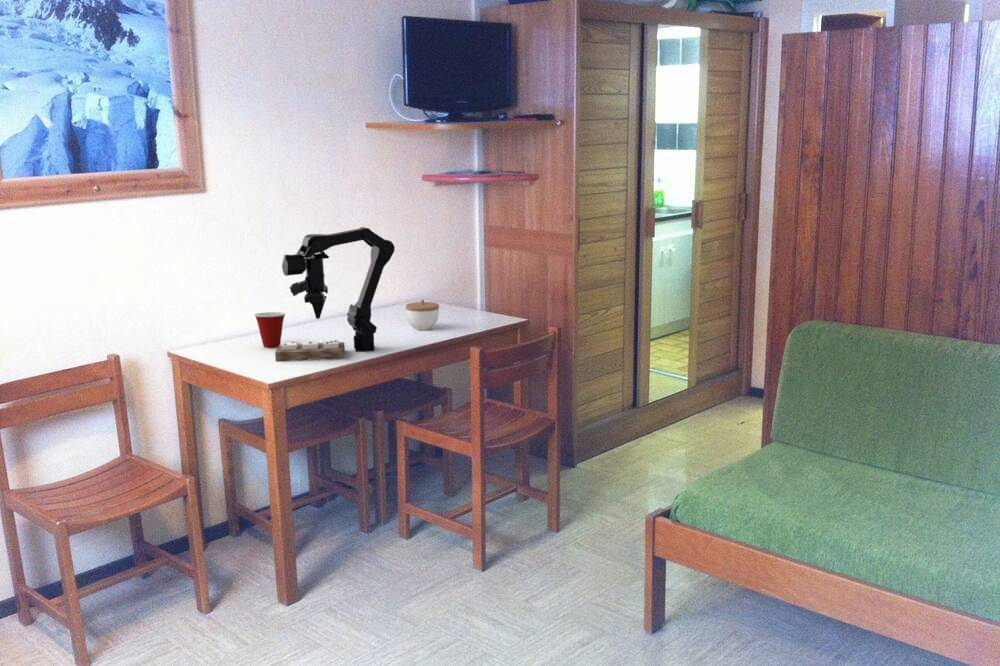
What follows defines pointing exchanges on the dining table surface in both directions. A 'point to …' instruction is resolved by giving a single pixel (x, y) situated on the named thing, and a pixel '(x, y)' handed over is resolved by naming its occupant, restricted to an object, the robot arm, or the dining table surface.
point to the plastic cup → (270, 328)
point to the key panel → (310, 353)
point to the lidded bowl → (422, 314)
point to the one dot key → (310, 345)
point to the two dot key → (289, 346)
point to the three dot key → (331, 344)
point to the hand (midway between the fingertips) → (318, 318)
